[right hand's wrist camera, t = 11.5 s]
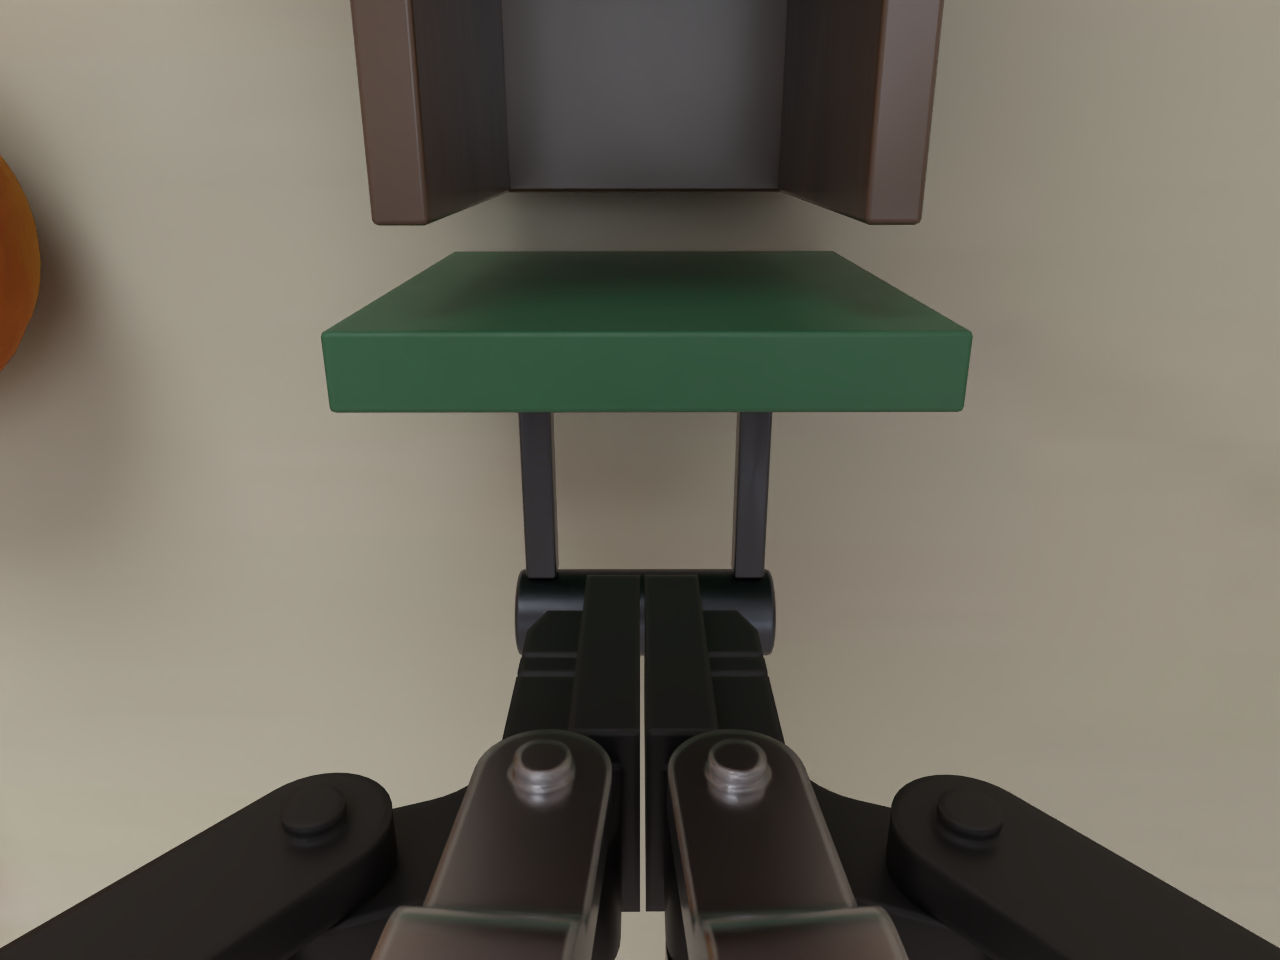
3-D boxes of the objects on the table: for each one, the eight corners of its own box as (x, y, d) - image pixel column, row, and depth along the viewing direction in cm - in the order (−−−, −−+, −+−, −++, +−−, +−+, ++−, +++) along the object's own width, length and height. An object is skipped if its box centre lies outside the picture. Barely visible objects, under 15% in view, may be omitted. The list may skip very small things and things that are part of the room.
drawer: (815, 530, 25) (919, 764, 15) (472, 531, 25) (372, 765, 15) (896, -602, 17) (1211, -1513, 7) (391, -602, 17) (86, -1512, 7)
